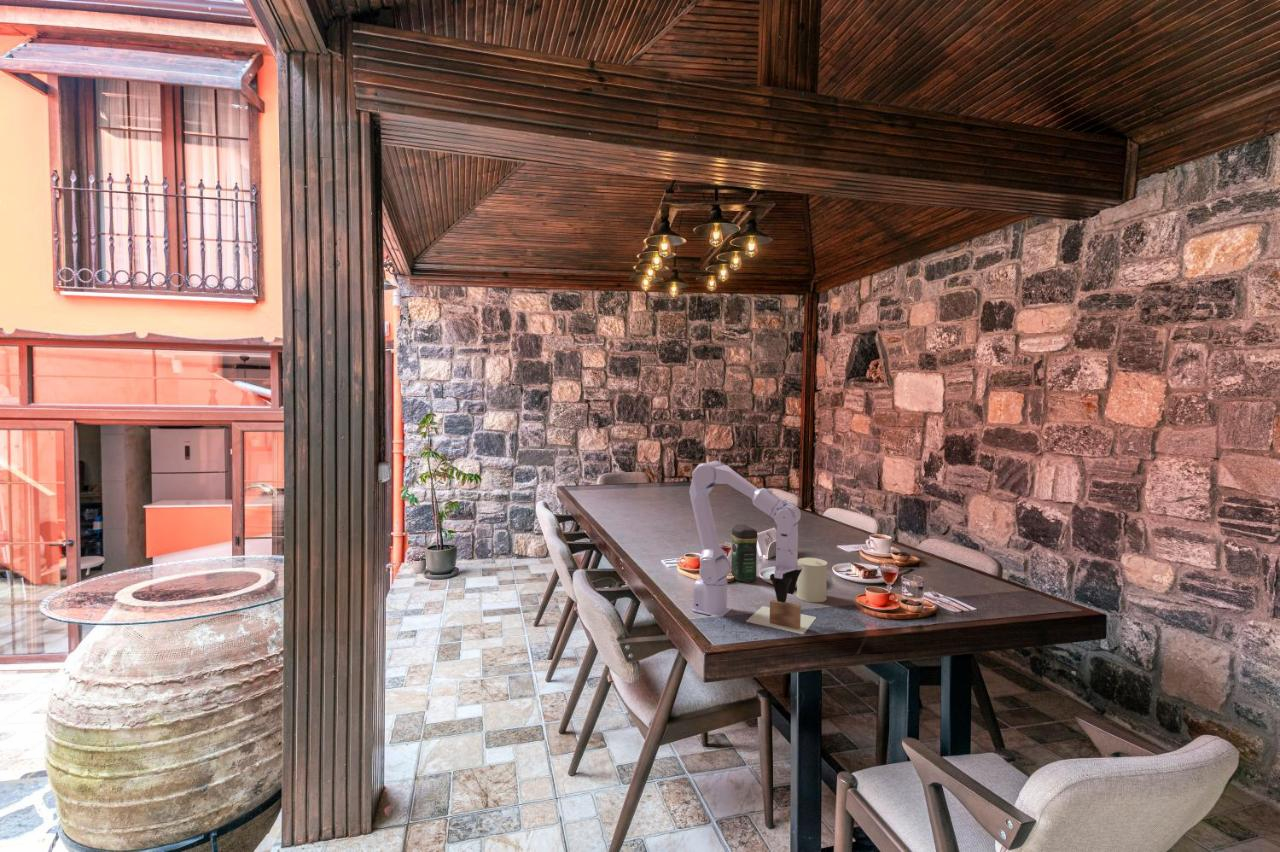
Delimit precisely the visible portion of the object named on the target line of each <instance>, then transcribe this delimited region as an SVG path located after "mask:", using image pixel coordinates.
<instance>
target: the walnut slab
mask: <svg viewBox="0 0 1280 852" xmlns="http://www.w3.org/2000/svg"><path fill="white" fill-rule="evenodd" d="M769 607H770V622H769V623H772V624H776V625H781V626H785V627H790V628H794V629H799V628H800V621H801V614H802V613H801V611H802V605H801V604H796V603H791V602H787V601H786V602H785V603H783V602H778V601H777V599H771V600H770V601H769Z"/></svg>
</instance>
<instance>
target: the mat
mask: <svg viewBox="0 0 1280 852" xmlns="http://www.w3.org/2000/svg"><path fill="white" fill-rule="evenodd" d="M816 619H817V617H816V616H814V615H813V616H812V615H809V614H803V613H801V621H800V628H799V629H794V628H790V627H785V626H781V625H776V624H772V623H769V622H770V606H766V605H762V606H761V607H760V608H759V609H757V610H756V611H755V613H753V614H752V615H751V616H749V618H748V619H746V620H745V622H747V623H751V624H755V625H760V626H764V627H768V628H774V629H777V630H782V631H787V632H791V633H795V634H798V635H799V634H800V635H804V634H805V632H807V630H808V629H809V628H810V626H811V625H812V624H813V623H814V621H815V620H816Z"/></svg>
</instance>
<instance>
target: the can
mask: <svg viewBox="0 0 1280 852" xmlns="http://www.w3.org/2000/svg"><path fill="white" fill-rule="evenodd" d="M797 564H798V565H800V566H802V571H801V573H800V575H799V577H798V579H797V583H796V598H798V599H799V600H801V601H804V602H808V603H823V602H825V601H827V581H828V579H827V578H828V577H827V576H828V562H827V560H823V559H820V558H817V557H801V558H797Z"/></svg>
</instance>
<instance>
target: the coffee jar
mask: <svg viewBox="0 0 1280 852" xmlns="http://www.w3.org/2000/svg"><path fill="white" fill-rule="evenodd" d="M731 530H732V531H731V546H732V547H731V562H730V564H731V570H730V574H731V573H732V575H733V576H734V578H733V579H734V580H736V581H737V582H744V583H751V582H754V581H756V580H757V556H758V555H757V553H758V552H757V550H758V530H757V529H754V528H753V527H751V526H748V525H747V524H735V525H734V526H733V527H732V529H731ZM732 575H731V576H732Z"/></svg>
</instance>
